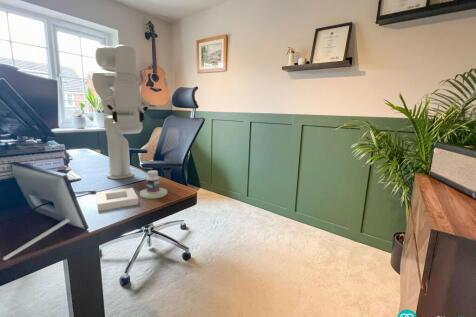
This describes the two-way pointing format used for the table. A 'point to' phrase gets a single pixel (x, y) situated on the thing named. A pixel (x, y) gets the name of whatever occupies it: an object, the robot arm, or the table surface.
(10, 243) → the table surface
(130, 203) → the pocket holder
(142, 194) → the coaster
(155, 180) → the pill bottle
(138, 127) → the robot arm
